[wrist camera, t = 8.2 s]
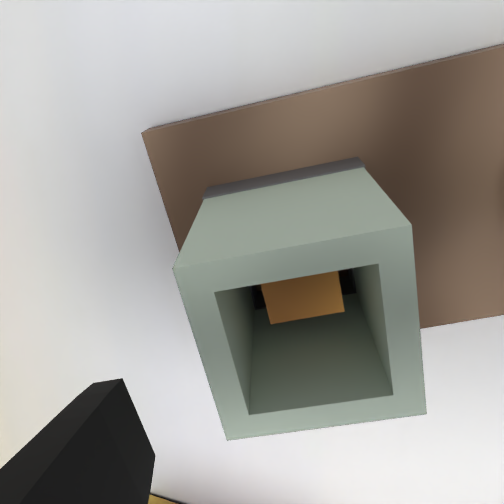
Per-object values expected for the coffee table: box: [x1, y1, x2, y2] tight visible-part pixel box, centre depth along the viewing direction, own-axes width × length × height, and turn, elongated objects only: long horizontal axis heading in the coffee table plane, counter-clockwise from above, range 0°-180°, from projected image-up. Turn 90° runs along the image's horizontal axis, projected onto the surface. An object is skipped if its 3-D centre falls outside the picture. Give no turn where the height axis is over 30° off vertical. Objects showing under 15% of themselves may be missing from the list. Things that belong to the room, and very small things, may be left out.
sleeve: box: [172, 157, 427, 441], centre depth 13 cm, size 5×5×6 cm
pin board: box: [141, 44, 504, 329], centre depth 14 cm, size 16×9×4 cm, turn 103°
